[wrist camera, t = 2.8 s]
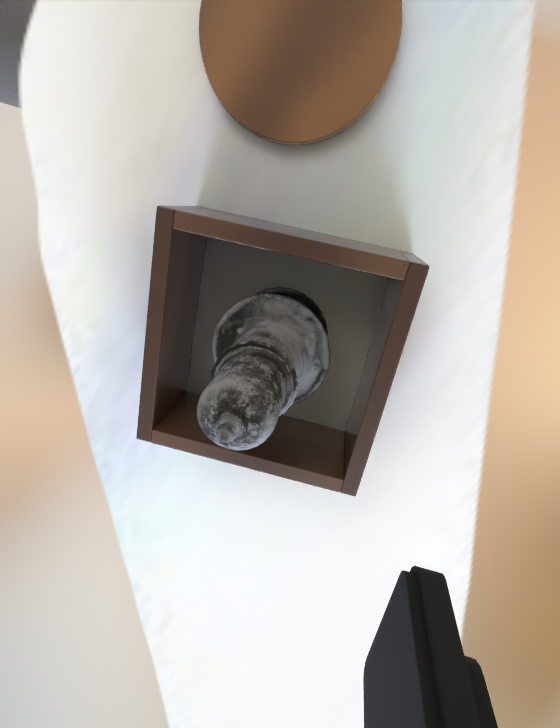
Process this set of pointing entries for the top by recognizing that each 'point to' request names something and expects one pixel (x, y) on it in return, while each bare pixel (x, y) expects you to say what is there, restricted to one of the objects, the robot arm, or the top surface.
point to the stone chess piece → (262, 366)
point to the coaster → (298, 62)
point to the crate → (290, 436)
